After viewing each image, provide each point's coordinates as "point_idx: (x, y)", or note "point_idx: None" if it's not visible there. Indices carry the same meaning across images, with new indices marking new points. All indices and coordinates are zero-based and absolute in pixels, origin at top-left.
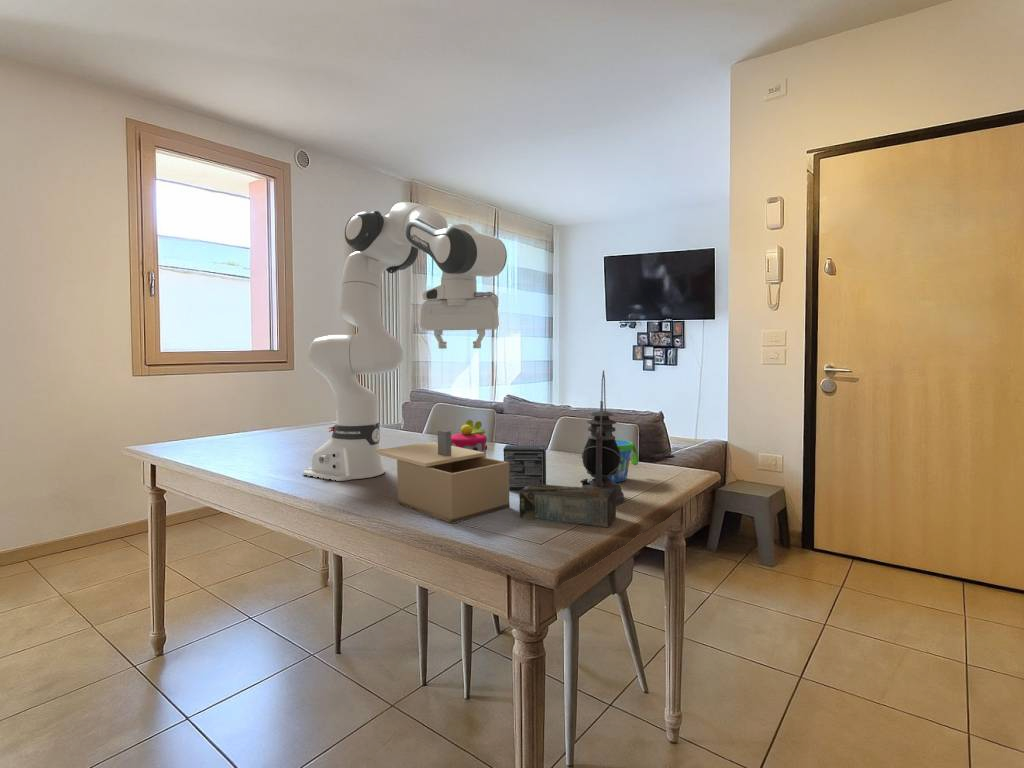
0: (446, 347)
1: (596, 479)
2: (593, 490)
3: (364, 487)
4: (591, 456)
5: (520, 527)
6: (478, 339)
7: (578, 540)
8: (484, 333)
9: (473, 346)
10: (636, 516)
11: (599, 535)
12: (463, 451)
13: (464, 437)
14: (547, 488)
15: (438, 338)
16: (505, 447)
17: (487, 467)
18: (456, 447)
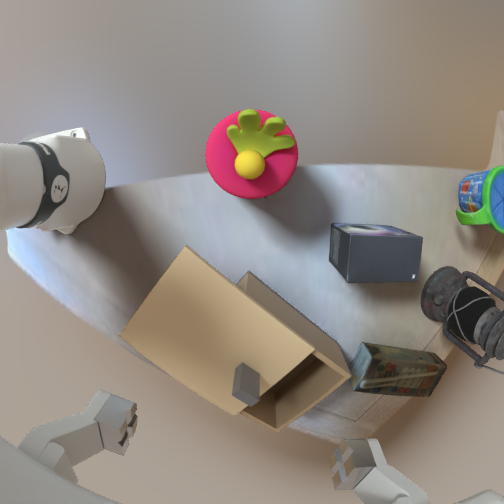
0: (134, 404)
1: (446, 336)
2: (426, 382)
3: (112, 262)
4: (459, 336)
5: (344, 395)
6: (368, 495)
7: (385, 409)
8: (418, 502)
9: (332, 466)
10: (450, 347)
11: (404, 397)
12: (275, 344)
13: (249, 189)
14: (385, 385)
15: (84, 457)
16: (351, 271)
17: (320, 401)
18: (254, 309)
